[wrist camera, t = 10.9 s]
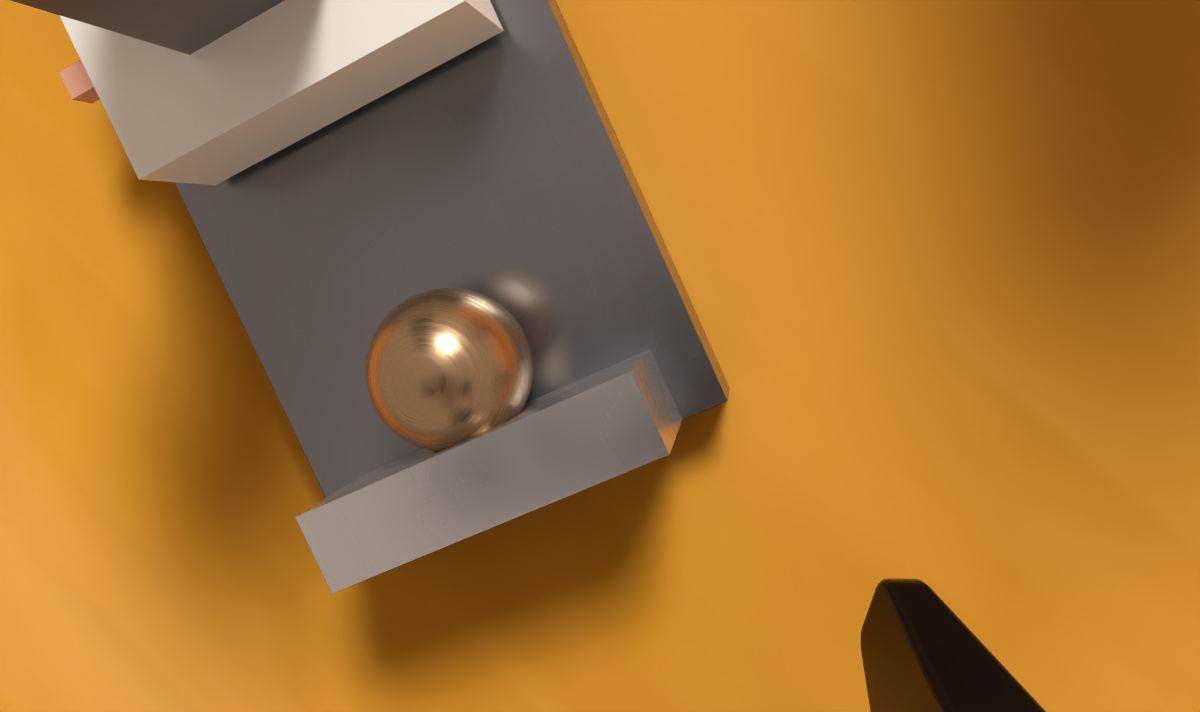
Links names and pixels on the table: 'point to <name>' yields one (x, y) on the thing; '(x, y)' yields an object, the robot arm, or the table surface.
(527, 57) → the nutcracker bench
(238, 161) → the press carriage
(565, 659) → the table surface
